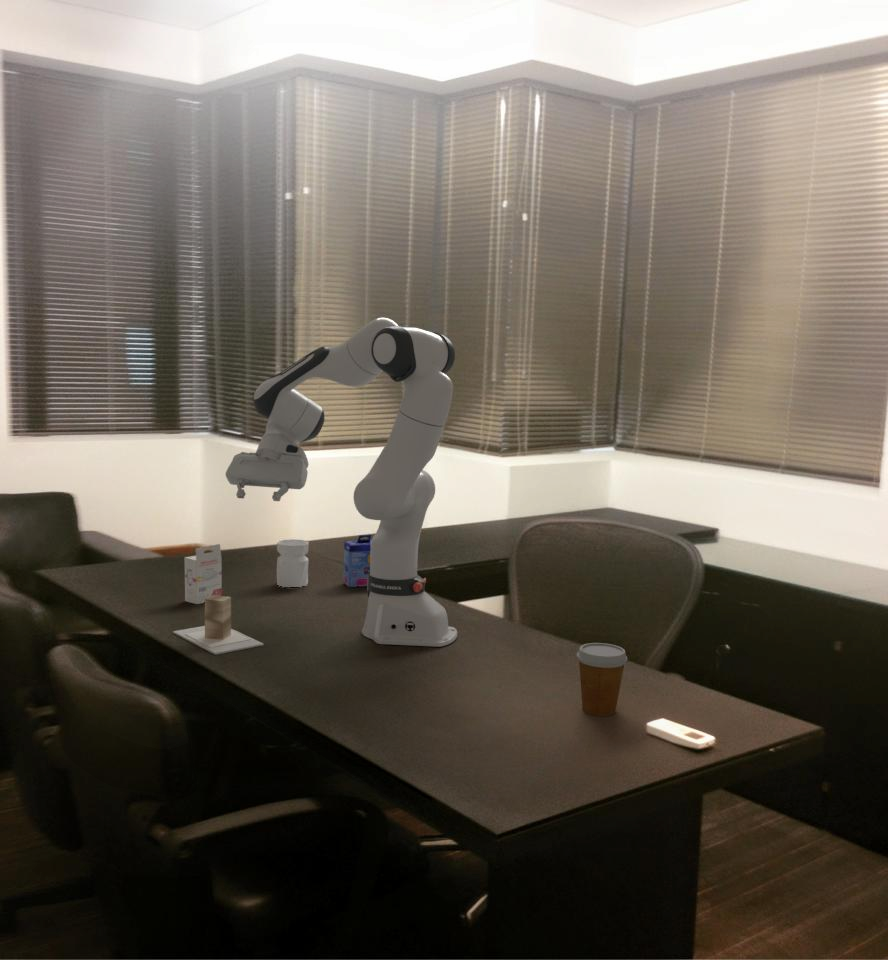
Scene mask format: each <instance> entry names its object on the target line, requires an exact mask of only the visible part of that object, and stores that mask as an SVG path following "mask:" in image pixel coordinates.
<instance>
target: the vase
mask: <svg viewBox="0 0 888 960" xmlns="http://www.w3.org/2000/svg"><path fill="white" fill-rule="evenodd" d="M309 543H310V542H309V541H308V540H304V539H296V538H295V539H294V538H292V539H289V538H288V539H282V540H278V541H277V542H276V551H277V552H278V553H279V554H280V555H279V556H278V557H277V558H276V559H277V560H276V586H277V585H279V586H278V587H280V586H282V587H281V588H284V587H300V588H303V587H302V586H305V587H306V586H308V583H309V573H308V572H309V558H308V557H307V556H306V554H308V552H309V545H310V544H309Z"/></svg>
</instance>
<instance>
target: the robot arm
mask: <svg viewBox="0 0 888 960" xmlns="http://www.w3.org/2000/svg"><path fill="white" fill-rule="evenodd" d="M347 339H348V340H345V341H344V342H343V343H340V344H338V345H333V346H320V347H318V348H316V349H314V350H312V351H311V352H309V353H307V354H306V355H304V356H303V357H301V358H300V359H299V360H297V361H295V362H294V363H292V364H290V366H288V367H286V368H285V369H284V370H282V371H281V372H279V373H277V374H275V375H272V376H271V377H268V378H267V379H265V380H264V381H262V383H261V384H260V385H258V387H257V388H256V389H255V391H254V393H253V396H252V401H253V405H254V409H255V410H256V413H257V414H259V415H260V416H262V417H265V418H266V419H268V420H267V423H266V427H265V433H264V434H263V435H262V436H261V438H260V442H259V444H258V446H257V449H256V451H255V452H246V451H241V452H240V453H237V454H235V455H234V456H233V458H232V460H231V462H230V464H229V465H228V467H227V469H226V472H225V477H226V480H227V481H228V483H229V484H230V485H234V486H236V487H237V492H236V494H235V495H236V498H237V499H245V497H246V494H247V493H246V491H245V489H244V488H245V486H246V487H247V486H249V487H261V488H277V489H278V490H277V491H273V494H272V501H273V502H280V501H281V499H282V497H283V496H284V495H285V494H287V493H288V492H289V490H301V489H303V488H305V485H306V482H307V478H308V473H309V472H308V468H309V461H308V457H307V455H306V452H305V451H304V449H303V448H302V447H300V446H298V445H296V444H298V443H300V444H301V443H305V442H307V441H311V440H313V439H315V438H316V437H317V436H318V435H319V433H320V432H321V430H322V428H323V427H324V424H325V412H324V408H323V407H321V405H319V404H318V403H317V402H315V401H314V400H312V399H311V398H309V397H308V396H306V395H304V394H303V393H301V391H300V392H299V390H297V389H295V388H297V387H298V386H299V385H301V384H303V383H304V382H306V381H307V380H309V379H313V378H315V379H316V378H318V379H324V380H328V381H333V382H336V383H338V384H340V385H344V386H348V387H355V388H357V387H364V386H366V385H367V384H368V385H369V384H370V383H372V382H373V381H374V380H375V379H376V378H377V377H379V376H380V375H381V374H382V373H383V372H384V373H385V374H387V376H389V377H390V378H391V380H392V381H394V382H395V383H399V382H403V385H404V393H403V397H402V398H401V402H400V404H399V408H398V411H397V414H396V417H395V420H394V423H393V426H392V428H391V432H390V434H389V437H388V440H387V441H386V443H385V445H384V447H383V449H382V450H381V452H380V454H379V456H378V457H377V458H376V459H375V461H374V463H373V465H372V467H371V469H370V470H368V473H367V474H366V475H365V476H364V477H363V478H362V479H361V480H360V481H359V482H358V483H357V484H356V486H355V488H354V492H353V504H354V506H355V509H356V510H357V512H358V514H360V515H361V516H362V517H363V518H365V519H368V520H373V521H380V522H379V525H378V527H377V531H376V532H375V534H374V536H373V537H372V539H371V540H372V541H371V553H370V574H369V575H368V582H367V586H366V592H367V597H368V599H367V600H368V601H367V607H366V614H365V619H364V622H363V623H364V624H363V626H362V630H361V634H362V635H363V636H364V637H365V638H368V639H371V640H372V641H373V642H374V643H376V644H379V645H398V646H413V647H414V646H415V647H417V646H418V647H421V646H422V647H439V648H440V647H444V646H448V645H450V644H451V643H453V642H454V641H455V640H456V639H457V638H458V630H457V628H455V627H454V626H450V625H449V619H448V614H447V611H446V609H445V607H444V606H443V605H441V604H440V603H439V602H438V601H437V600H435V599H434V598H433V597H432V596H431V595H430V594H428V593H427V592H426V591H425V590H426V583H427V578H426V577H424V578H422V577H421V576H420V575H419V574H418V559H419V558H418V557H419V556H418V555H419V554H418V553H419V544H420V543H419V542H420V538H421V537H420V536H421V532H422V529H423V525H424V522H425V517H426V513H427V510H428V509H429V506H430V504H431V503H432V501H433V500H434V497H435V495H436V484H435V481H434V479H433V477H432V475H430V474H429V472H427V471H425V470H424V468H425V467H426V466H427V464H429V462H430V461H431V460H432V459H433V457H434V456H435V453H436V452H437V449H438V445H439V443H440V440H441V437H442V434H443V431H444V429H445V425H446V423H447V419H448V416H449V413H450V409H451V405H452V399H453V393H454V384H453V382H452V379H451V378H450V377H449V376H448V375H447V374H448V372H449V371H450V370H451V369H452V367H453V365H454V363H455V359H456V351H455V350H456V349H455V347H454V344H453V342H452V341H451V339H449V338H448V337H446V336H445V335H443V334H442V333H439V332H435V331H429V330H425V329H421V328H420V327H411V326H399V324H398V323H396V322H395V321H394V320H393V319H391V318H388V317H377V318H375V319H373V320H371V321H370V322H368V323H367V324H365V325H364V326H362V327H361V328H360V329H358V330H357V331H356V332H355V333H354V334H352V336H350V337H349V338H347Z"/></svg>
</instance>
